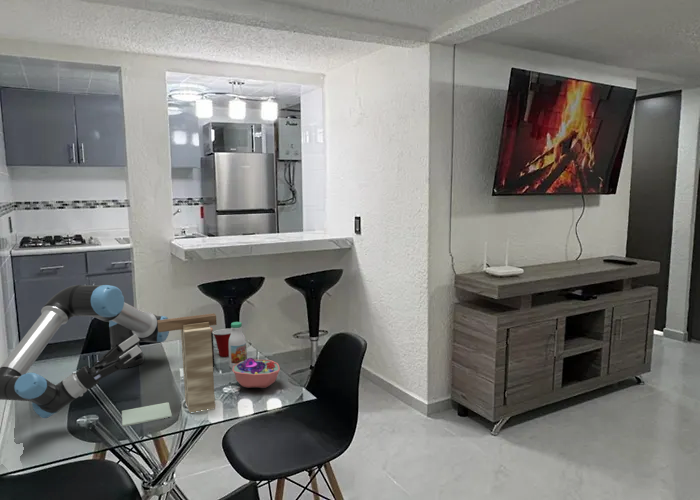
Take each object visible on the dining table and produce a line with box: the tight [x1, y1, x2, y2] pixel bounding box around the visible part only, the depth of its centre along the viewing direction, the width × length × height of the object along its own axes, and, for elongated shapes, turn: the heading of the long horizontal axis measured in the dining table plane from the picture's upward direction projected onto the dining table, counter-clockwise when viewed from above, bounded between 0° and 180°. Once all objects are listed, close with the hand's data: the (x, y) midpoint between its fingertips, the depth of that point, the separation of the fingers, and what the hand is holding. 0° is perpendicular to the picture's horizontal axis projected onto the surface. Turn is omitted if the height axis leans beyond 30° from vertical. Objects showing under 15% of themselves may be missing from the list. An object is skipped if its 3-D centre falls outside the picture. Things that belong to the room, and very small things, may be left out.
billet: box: [157, 313, 217, 332], centre depth 186 cm, size 4×20×4 cm, turn 115°
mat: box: [121, 401, 173, 428], centre depth 184 cm, size 12×16×1 cm
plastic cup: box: [212, 328, 232, 358], centre depth 244 cm, size 11×11×12 cm
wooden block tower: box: [180, 322, 216, 414], centre depth 189 cm, size 12×9×32 cm
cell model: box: [231, 357, 281, 389], centre depth 207 cm, size 17×20×11 cm
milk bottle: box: [228, 321, 248, 370], centre depth 228 cm, size 8×8×20 cm
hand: (138, 342), depth 179 cm, fingers open, 13 cm apart
